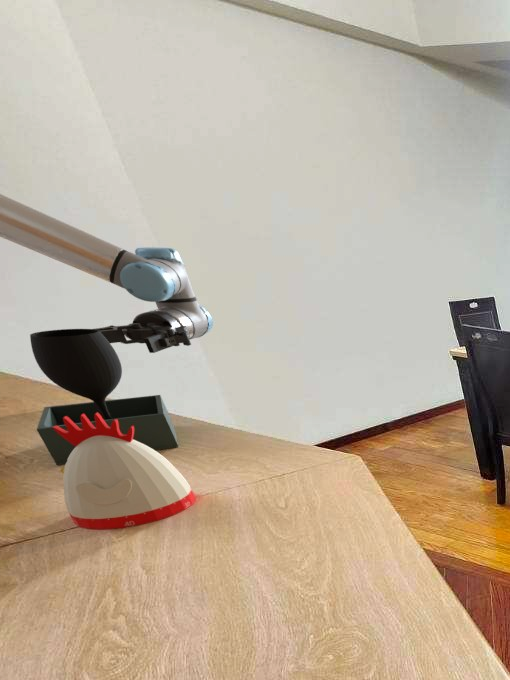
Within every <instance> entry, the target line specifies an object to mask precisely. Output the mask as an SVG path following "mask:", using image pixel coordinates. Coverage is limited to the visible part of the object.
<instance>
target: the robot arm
mask: <svg viewBox="0 0 510 680" xmlns="http://www.w3.org/2000/svg"><path fill="white" fill-rule="evenodd" d="M0 238H2V239H5V240H7V241H10V242H12V243H14V244H17V245H19V246H22V247H24V248H26V249H28V250H31V251H33V252H35V253H38V254H41V255H43V256H45V257H48V258H51V259H53V260H55V261H58V262H60V263H63V264H64V265H67V266H70V267H72V268H74V269H77V270H79V271H82V272H84V273H87V274H89V275H91V276H94V277H96V278H98V279H101V280H104V281H106V282H108V283H111V284H113V285H114V286H117V287H120V288H122V289H124V290H125V291H127V292H128V293H129V294H130V295H131V296H132V297H134V298H136V299H138V300H141V301H143V302H150V303H155V305H156V307H157V308H156V309H152V310H149V311H145V312H142V313H139V314H137V315H136V316H135V317H134V318H133V321H132V322H131V323H129V324H125V325H112V324H111V325H108V326H103V327H98V328H97V327H96V328H94V329H95V330H99V331H100V332H101V333H102V334H103V335H104V337H105V338H106V339H107V340H108V342H109V343H110V344H117V343H121V344H125V345H130V344H145V346H146V347H147V350H148V352H149V353H150V354H155V353H158V352H160V351H164V350H166V349H169V348H172V347H180V346H181V344H183V346H187V347H189V346H191V345H192V343H191V340H193V339H197V338H198V339H199V338H202V337H203V336H204V335H206V334H208V333H209V332H210V331H211V330H212V329H213V325H214V321H213V317H212V315H211V314H210V312H209V311H208V310H207V309H206V308H205V307H204V306H202V305H200V304H199V301H198V299H197V297H196V295H195V292H194V289H193V286H192V283H191V281H190V278H189V276H188V273H187V270H186V268H185V267H186V265H185V263H184V261H183V260H182V258H181V256H180V253H179V251H178V250H177V249H175V248H171V247H153V246H152V247H149V246H148V247H147V246H146V247H145V246H144V247H136V248H135V250H134V252H131V251H128V250H127V249H124V248H122V247H120V246H118V245H115V244H114V243H111V242H109V241H107V240H104V239H103V238H100V237H98V236H96V235H94V234H91V233H89V232H86V231H84V230H82V229H80V228H77V227H76V226H73V225H71V224H69V223H66V222H64V221H62V220H60V219H57V218H55V217H53V216H51V215H49V214H46V213H44V212H43V211H39V210H37V209H35V208H33V207H30V206H28V205H26V204H24V203H21V202H20V201H17V200H15V199H13V198H10V197H8V196H7V195H4V194H1V193H0Z"/></svg>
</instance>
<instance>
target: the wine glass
mask: <svg viewBox="0 0 510 680" xmlns="http://www.w3.org/2000/svg"><path fill="white" fill-rule="evenodd" d="M95 329H96V328H66V329H65V328H63V329H51V330H43V331H42V330H41V331H37V332H33V333H30V334H29V338H30V346H31V350H32V354H33V357H34V359H35V361H36V363H37V365H38V367H39V368H40V371H41V372H42V373H43V374H44V375H45V377H47V378H48V379H49V380H50V381H51V382H52V383H53V384H55V385H57V386H58V387H60V388H62V389H64V390H65V391H67V392H69V393H72V394H74V395H77V396H80V397H82V398H85V399H87V400H90V401H91V402H95V404H96V405H97V406H98V408H99V410H100V411H101V413H102V415H103V417H104V419H105V420H108V419H112V418H111V416H110V414H109V411H108V409H107V406H106V403H105V401H106V399H107V397H108V396H109V395H110V394H111V393H112V392H114V390H115V389H116V388H117V386H118V385H119V383H120V382H121V380H122V375H123V369H122V367H123V366H122V363H121V360H120V358H119V356H118V353H117V352H116V350H115V348H114V347H113V346H112V343H109V342H108V340H107V339H106V338H105V337H104V335H103V334H102V333H101V332H100V331H99V330H95Z"/></svg>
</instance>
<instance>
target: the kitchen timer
mask: <svg viewBox="0 0 510 680" xmlns="http://www.w3.org/2000/svg"><path fill="white" fill-rule="evenodd" d="M80 417H81V423H82V427H83V429H80V428H79V427H78V426H77V425H76V424H75V423H74V422H73V421H72V420H71V419H70V418H69V417H67V416H65V417H64V418H63V421H64V423H65V425H66V427H67V429H68V431H69V432H68V431H66V430H64V429H62V428H60V427H58V426H54V427H53V429H54V430H55V431H56V432H57V433H58V434H60V435H61V436H62V437H63V438H65V439H66V440H68V441H69V442H70V443H72V444H73V445H74V446H76V447H75V448H74V449H73V451H72V452H71V454H70V455H69V457H68V459H67V460H66V464H64V466H63V467H62V469H60V473H62V474H63V476H62V477H63V479H62V482H63V483H62V485H63V494H64V503H65V506H66V510H67V512H68V515H69V516H70V518H71V519H72V521H73V523H74V524H75V525H76V526H78V527H79V528H82V529H88V530H113V529H121V528H122V529H123V528H129V527H134V526H135V527H136V526H140V525H144V524H148V523H153V522H156V521H160V520H163V519H165V518H169V517H171V516H174V515H176V514H179V513H181V512H184V511H185V510H186V509H188V508H189V507H191V506H192V505H193V504H194V503H195V502H196V496H195V494H194V492H193V490H192V487H191V485H190V483H189V482H188V481H187V479H186V478H185V477H184V476H183V474H182V473H181V472H180V471H179V470H178V469H177V468H176V467H175V466H174V465H173V464H172V462H170V461H169V460H168V459H167V458H166V457H165V456H163V455H162V454H161V453H160V452H158V451H157V450H153V449H152V448H150V447H148V446H146V445H144V444H142V443H140V442H138V441H136V440H133V437H134V426H132V427H130V429H129V432H128V434H126V435H124V434H122V433H121V432H120V430H119V423H118V420H117V419H115V420H114V421H113V422H112V425H111V428H110V427H109V426H108V425H107V424H106V422H105V421H104V419H103V418H102V417H101V415H100V414H99V413H98V412H97V413H96V414H94V417H95V423H96V428H95V427H94V426H93V425H92V423H91V422H90V421H89V419H88V418H87V417H86V415H85V414H84V413H83V414H82V415H81V416H80Z"/></svg>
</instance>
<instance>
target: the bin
mask: <svg viewBox="0 0 510 680" xmlns="http://www.w3.org/2000/svg"><path fill="white" fill-rule="evenodd" d="M105 403H106V406H107V409H108V411H109V414H110V416H111V418H112V419H108V420H105V419H104V417H103V415H102V413H101V411H100V410H99V408H98V406H97V405H96V404H95V402H93V401H89V402H80V403H70V404H69V403H68V404H60V405H59V404H58V405H51V406H44V407H43V410H42V413H41V416H40V418H39V422H38V424H37V427H36V432H37V433H38V435H39V437H40V438H41V440H42V442H43V443H44V445H45V447H46V449H47V451H48V452H49V455H50V456H51V458H52V460H53V462H54V463H55V465H56V466H60V465H65V464H66V460H67V459H68V457H69V455H70V454H71V452H72V451H73V449H74V448H75V447H76V446H74V445H73V444H72V443H70V442H69V441H68V440H66V439H65V438H63V437H62V436H61V435H60V434H58V433H57V432H56V431H55V430H54V429H53V427H54V426H58V427H60V428H62V429H64V430H66V431H68V429H67V427H66V425H65V423H64V421H63V418H64V417H65V416H67V417H69V418H70V419H71V420H72V421H73V422H74V423H75V424H76V425H77V426H78V427H79V428H80V429H83V427H82V423H81V417H80V416H81V415H82V414H83V413H84V414H85V415H86V417H87V418H88V419H89V421H90V422H91V423H92V425H93V426H94V427H95V428H96V423H95V417H94V414H96V413H97V412H98V413H99V414H100V415H101V417H102V418H103V419H104V421H105V422H106V424H107V425H108V426H109V427H110V428H111V425H112V422H113V421H114V420H115V419H117V420H118V423H119V430H120V432H121V433H122V434H124V435H126V434H128V432H129V429H130V427H132V426H134V437H133V440H136V441H138V442H140V443H142V444H144V445H146V446H148V447H150V448H152V449H153V450H155V451H161V450H169V449H174V448H175V449H176V448H179V442H178V438H177V434H176V429H175V425H174V422H173V420H172V418H171V416H170V413H169V411H168V409H167V406H166V405H165V402H164V400H163V398H162V396H161V394H156V395H147V396H146V395H145V396H137V397H126V398H118V399H116V398H115V399H107V400H105ZM68 432H69V431H68Z"/></svg>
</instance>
